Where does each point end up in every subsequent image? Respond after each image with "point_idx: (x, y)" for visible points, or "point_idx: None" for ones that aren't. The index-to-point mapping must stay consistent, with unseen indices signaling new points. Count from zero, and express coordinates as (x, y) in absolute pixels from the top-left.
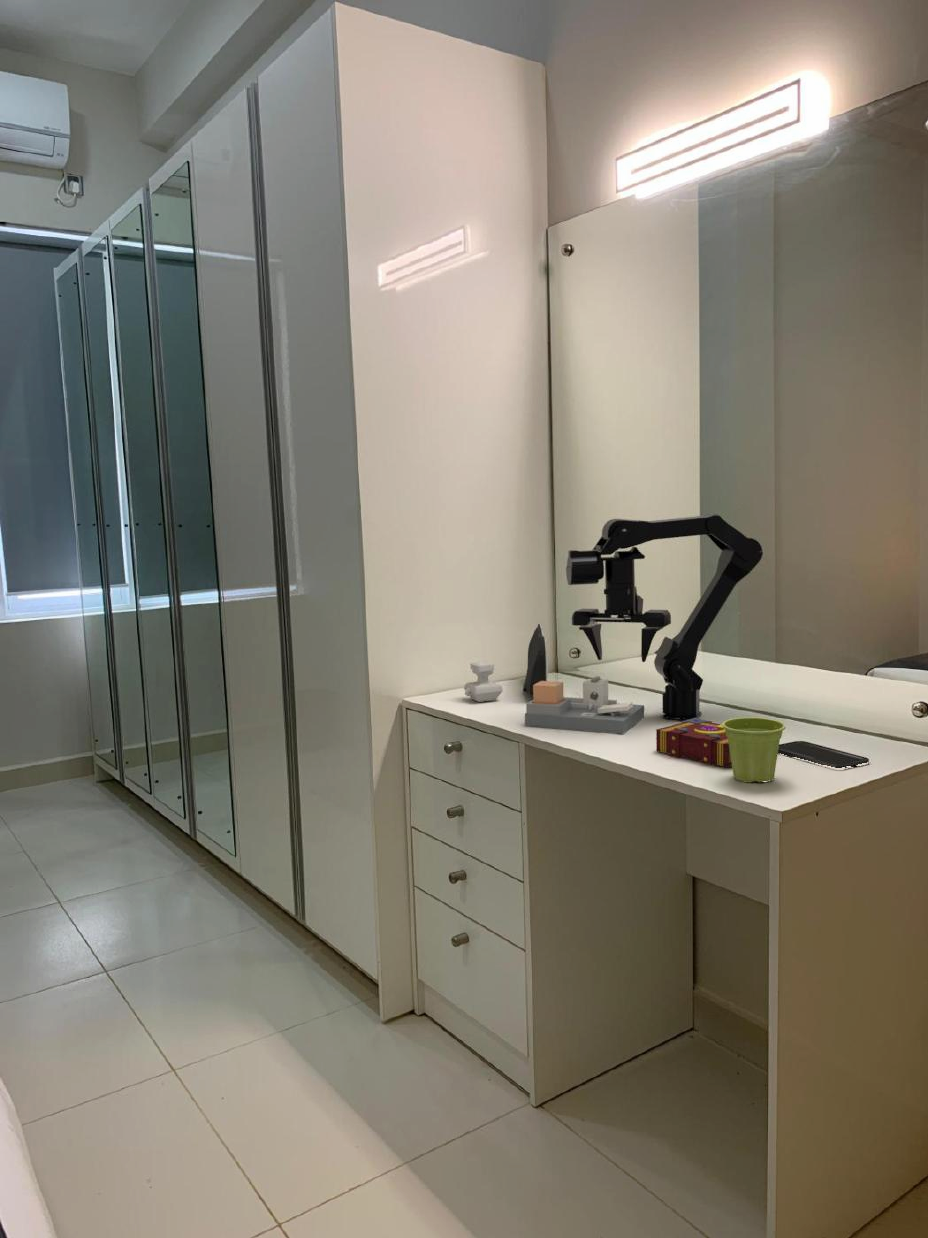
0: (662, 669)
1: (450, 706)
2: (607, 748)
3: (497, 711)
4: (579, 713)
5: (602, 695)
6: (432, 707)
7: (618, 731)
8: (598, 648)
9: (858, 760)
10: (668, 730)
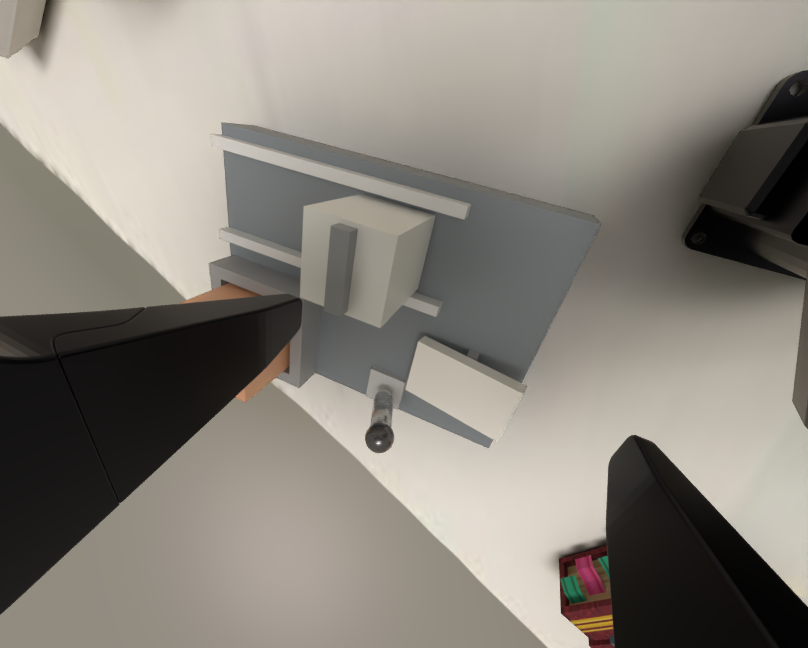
0: (803, 419)
1: (27, 106)
2: (455, 508)
3: (140, 159)
4: (359, 350)
5: (402, 302)
6: (10, 128)
7: None
8: (231, 390)
9: None
10: (592, 629)
